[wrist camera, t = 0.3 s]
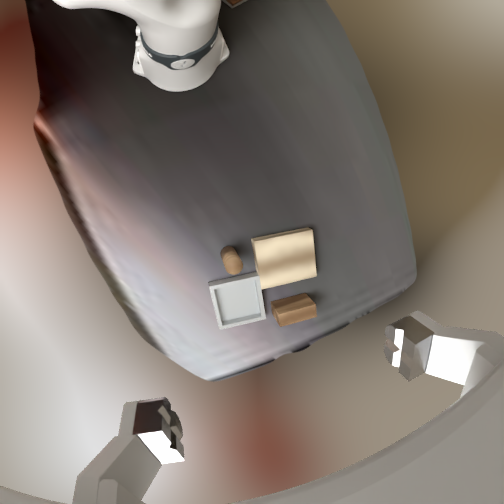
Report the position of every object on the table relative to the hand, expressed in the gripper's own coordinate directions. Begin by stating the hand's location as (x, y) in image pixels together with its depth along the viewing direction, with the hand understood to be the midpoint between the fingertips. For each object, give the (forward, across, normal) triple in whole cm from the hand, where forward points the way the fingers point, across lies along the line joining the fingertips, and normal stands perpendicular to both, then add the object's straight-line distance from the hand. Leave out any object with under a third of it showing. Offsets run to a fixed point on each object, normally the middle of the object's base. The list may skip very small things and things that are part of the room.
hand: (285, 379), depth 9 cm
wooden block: (+46, -12, +24) cm, 53 cm away
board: (+47, -13, +13) cm, 50 cm away
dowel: (+46, -2, +9) cm, 47 cm away
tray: (+46, -1, +19) cm, 50 cm away
